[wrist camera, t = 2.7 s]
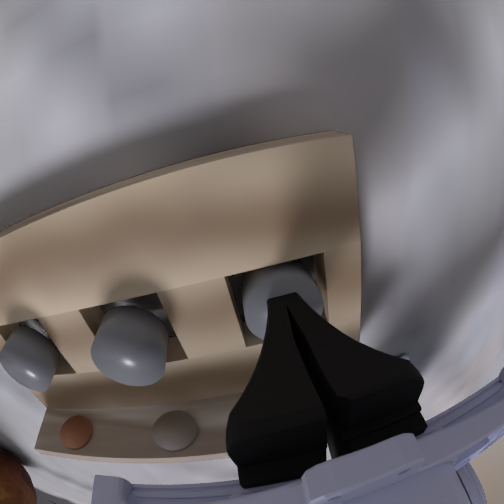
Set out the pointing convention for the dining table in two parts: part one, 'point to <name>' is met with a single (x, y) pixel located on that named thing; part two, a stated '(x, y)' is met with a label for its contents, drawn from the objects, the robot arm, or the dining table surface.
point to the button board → (178, 287)
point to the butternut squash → (15, 481)
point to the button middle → (131, 346)
